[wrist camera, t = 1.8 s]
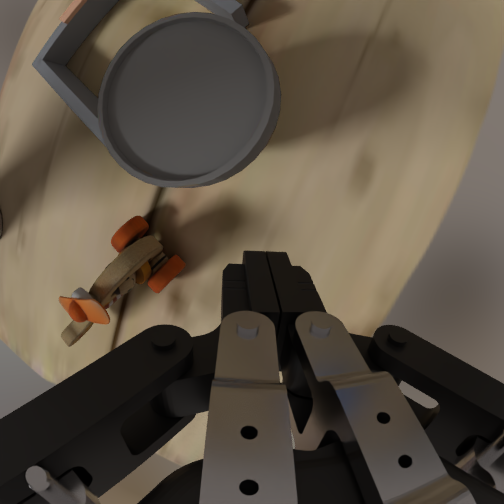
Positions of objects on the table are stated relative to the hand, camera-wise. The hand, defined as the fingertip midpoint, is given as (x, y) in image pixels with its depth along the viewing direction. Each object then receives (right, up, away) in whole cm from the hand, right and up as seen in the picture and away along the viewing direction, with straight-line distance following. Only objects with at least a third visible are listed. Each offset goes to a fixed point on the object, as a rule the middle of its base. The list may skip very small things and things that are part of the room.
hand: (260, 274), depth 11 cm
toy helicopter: (-16, -2, +27) cm, 32 cm away
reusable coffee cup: (-3, +15, +20) cm, 25 cm away
